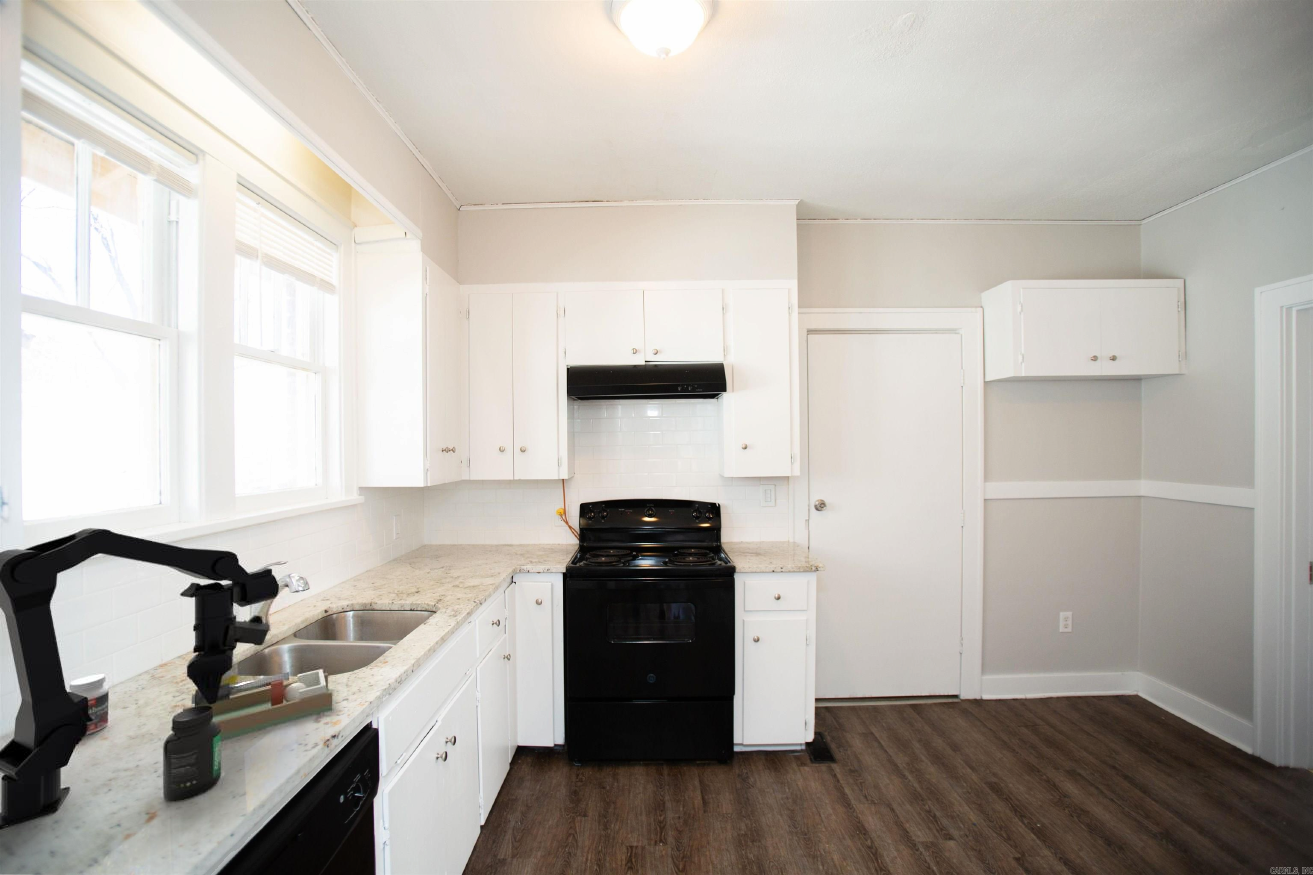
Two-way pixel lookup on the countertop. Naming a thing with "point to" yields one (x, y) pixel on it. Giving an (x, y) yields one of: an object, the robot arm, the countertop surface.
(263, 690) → the tray
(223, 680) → the supplement bottle
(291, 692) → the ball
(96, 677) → the pill bottle
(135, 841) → the countertop surface
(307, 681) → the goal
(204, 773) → the supplement bottle
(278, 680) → the rod
